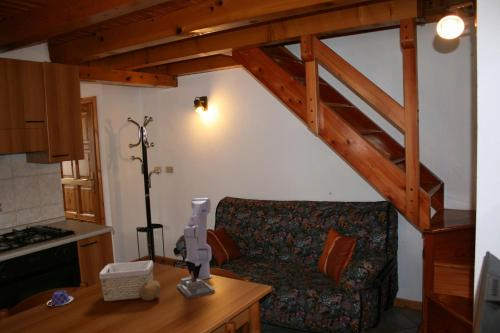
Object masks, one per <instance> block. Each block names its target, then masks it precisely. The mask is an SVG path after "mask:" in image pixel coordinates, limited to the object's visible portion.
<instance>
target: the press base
mask: <svg viewBox="0 0 500 333" xmlns="http://www.w3.org/2000/svg"><path fill="white" fill-rule="evenodd" d="M197 279H201V276H200V275H199V278H197ZM202 280H203V285H201V286H196V287H191V288H187V287H186V282H187V281H191V276H189V277H184V278H180V283H179V284H177V285H176V288H177V289H178V290H179V291H180V293H181V294H184V295H185V296H184V295H183V296H184V297H185V298H186V299H187V300H189V298H190V299H194V298H197V297H198V296H199V297H202V295H203V296H207V295H211V294H210V293H212V294H215V292H216V291H215V288H213V287H212V286H211V285H210V284H208V283H207V281H205V279H202ZM206 294H207V295H206ZM193 297H194V298H193ZM199 297H198V298H199Z"/></svg>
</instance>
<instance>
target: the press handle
mask: <svg viewBox="0 0 500 333" xmlns="http://www.w3.org/2000/svg"><path fill="white" fill-rule="evenodd" d="M190 275H191V276H190V277H191V281H187V282H186V287H187V288H191V287H196V286H201V285H203V280H204V279H203V280H202V279H197V278H196V279H195V278H194V276H193V271H191V274H190Z"/></svg>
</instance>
